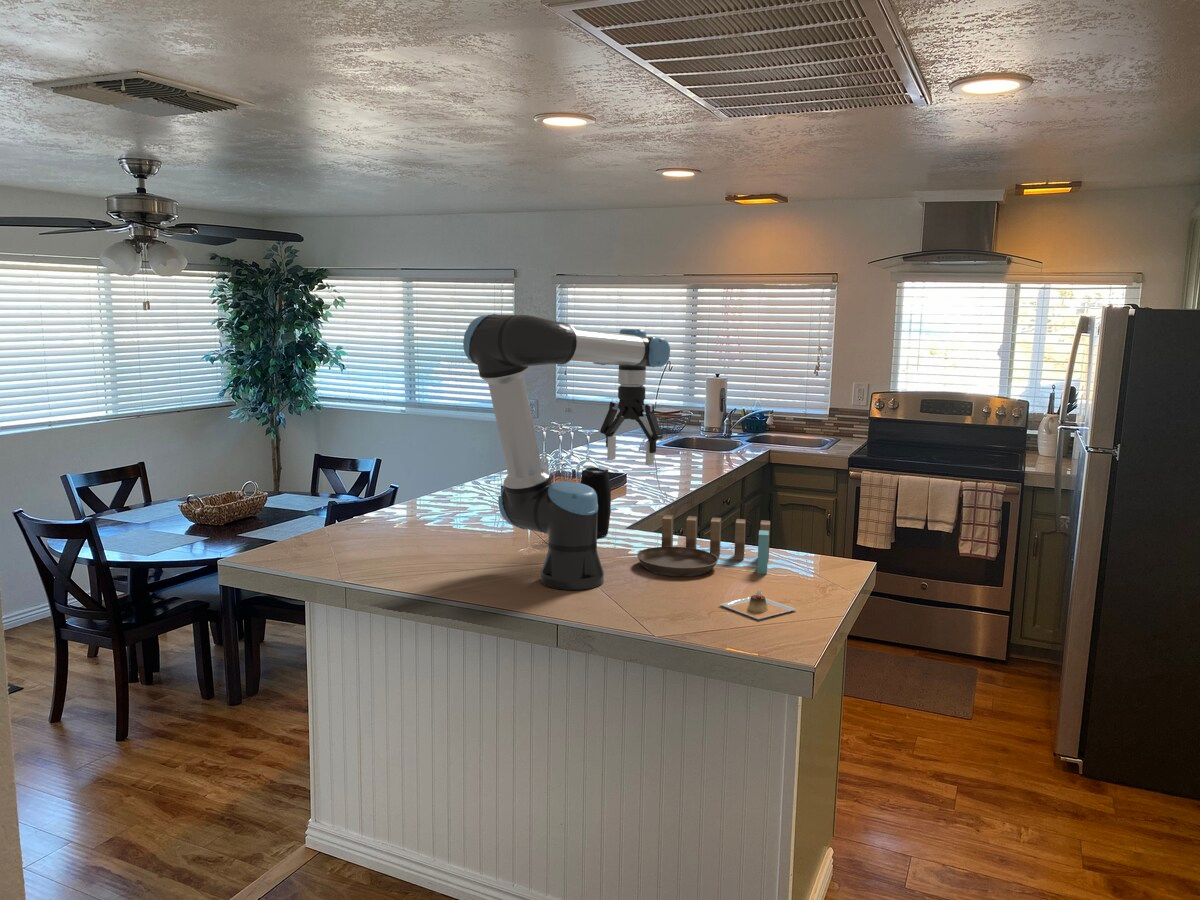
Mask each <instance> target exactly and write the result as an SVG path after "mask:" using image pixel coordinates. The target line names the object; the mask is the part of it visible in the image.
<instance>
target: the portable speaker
mask: <svg viewBox="0 0 1200 900" xmlns="http://www.w3.org/2000/svg"><path fill="white" fill-rule="evenodd" d="M580 483H581V484H585V485H587V486H590V487H591V488H593V489H594V490H595V492H596V494H597V504H598V523H597V537H599V538H602V537H603V536H604V535H605V534H607V535H608V533H609V528H610V527H609V526H610V520H611V513H612V512H611V511H612V509H611V508H612V506H611V505H612V501H611V500H612V499H611V498H612V488H611V482H610V472H609V469H604V468H600V467H592V466H591V467H586V468H585V469H584V470H581V478H580Z"/></svg>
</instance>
